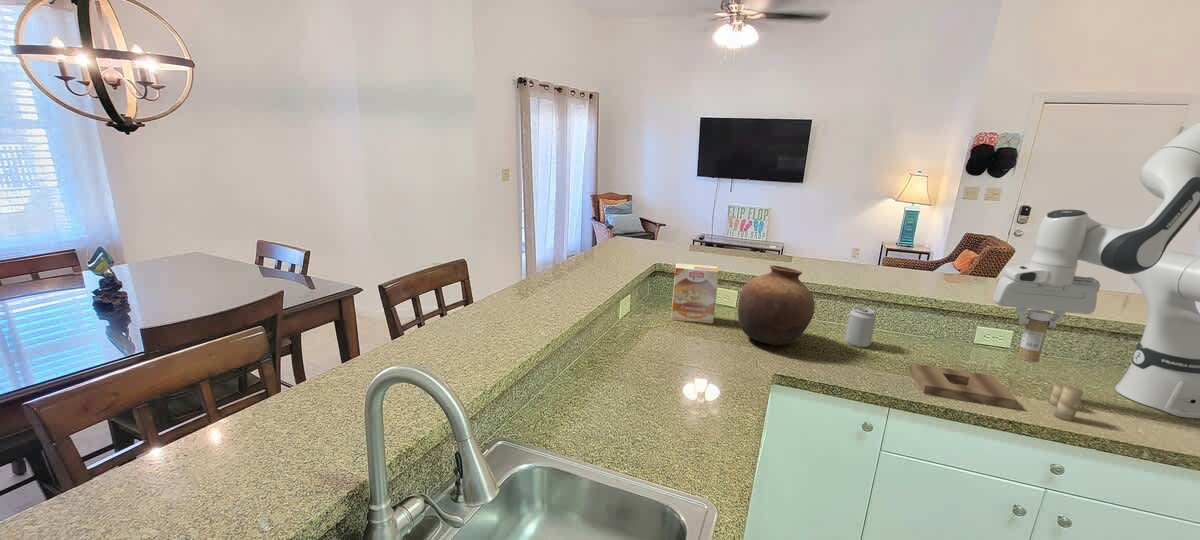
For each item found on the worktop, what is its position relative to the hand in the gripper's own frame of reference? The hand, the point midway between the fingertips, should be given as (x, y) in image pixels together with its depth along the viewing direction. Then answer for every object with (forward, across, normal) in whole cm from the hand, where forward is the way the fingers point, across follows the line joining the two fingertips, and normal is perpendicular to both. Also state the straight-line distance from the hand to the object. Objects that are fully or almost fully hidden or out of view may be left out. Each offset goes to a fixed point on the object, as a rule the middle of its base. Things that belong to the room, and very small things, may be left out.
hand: (1036, 325), depth 126 cm
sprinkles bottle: (+10, 0, 0) cm, 10 cm away
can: (+18, +37, -18) cm, 45 cm away
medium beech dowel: (+19, -4, +12) cm, 23 cm away
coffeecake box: (+17, +91, -19) cm, 94 cm away
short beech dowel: (+19, -6, +5) cm, 21 cm away
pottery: (+18, +64, -9) cm, 67 cm away
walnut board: (+18, +16, +5) cm, 25 cm away
